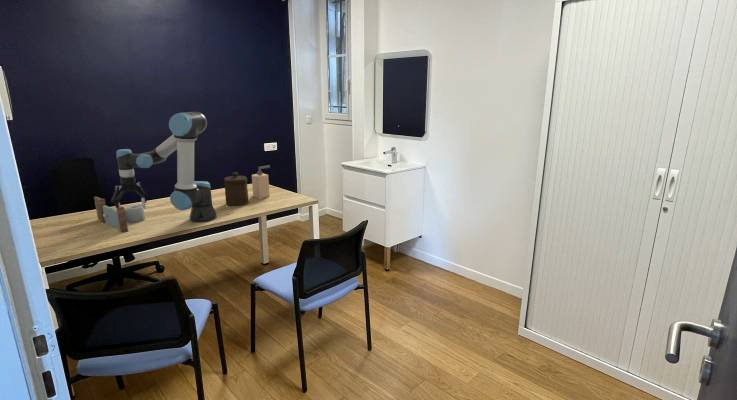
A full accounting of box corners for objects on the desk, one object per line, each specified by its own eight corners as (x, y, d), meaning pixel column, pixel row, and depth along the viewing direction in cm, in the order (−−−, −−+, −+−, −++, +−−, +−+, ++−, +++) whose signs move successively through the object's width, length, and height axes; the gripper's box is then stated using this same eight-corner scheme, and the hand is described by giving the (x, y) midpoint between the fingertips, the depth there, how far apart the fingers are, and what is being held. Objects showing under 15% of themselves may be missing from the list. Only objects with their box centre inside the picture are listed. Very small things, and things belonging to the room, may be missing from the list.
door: (124, 229, 224) (121, 212, 222) (118, 231, 222) (115, 213, 219) (108, 221, 237) (105, 205, 234) (102, 222, 235) (99, 206, 232)
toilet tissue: (119, 220, 241) (117, 206, 239) (145, 217, 247) (143, 203, 245) (119, 225, 233) (116, 210, 231) (145, 221, 240) (143, 207, 237)
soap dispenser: (259, 198, 289) (257, 168, 283) (253, 196, 295) (250, 167, 289) (274, 195, 298) (272, 166, 292) (267, 193, 304) (266, 164, 298)
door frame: (128, 231, 223) (124, 207, 219) (122, 233, 221) (118, 208, 217) (102, 218, 244) (98, 196, 240) (96, 219, 242) (92, 197, 238)
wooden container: (248, 199, 286) (245, 169, 280) (249, 205, 272) (246, 173, 266) (226, 201, 281) (223, 170, 275) (226, 207, 268) (223, 175, 262)
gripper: (146, 171, 245) (150, 205, 251) (100, 178, 226) (106, 214, 232) (152, 173, 241) (156, 207, 247) (106, 180, 222) (112, 217, 228)
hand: (132, 210), depth 240 cm, fingers open, 13 cm apart
